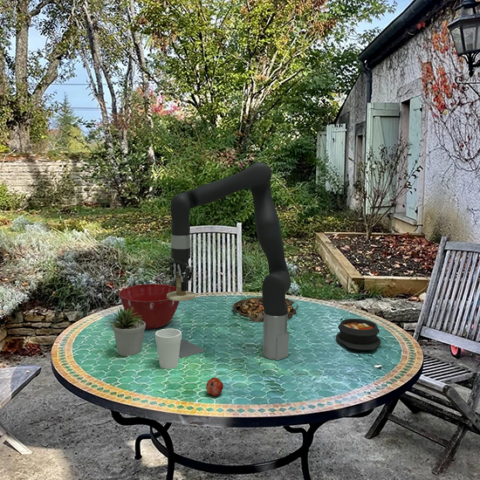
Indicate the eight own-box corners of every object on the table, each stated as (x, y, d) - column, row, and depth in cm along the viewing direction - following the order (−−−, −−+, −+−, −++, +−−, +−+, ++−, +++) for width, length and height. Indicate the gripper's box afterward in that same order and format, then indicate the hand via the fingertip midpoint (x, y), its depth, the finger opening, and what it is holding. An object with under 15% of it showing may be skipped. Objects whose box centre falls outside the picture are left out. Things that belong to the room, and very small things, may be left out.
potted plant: (108, 349, 192) (107, 300, 188) (143, 345, 196) (142, 297, 193) (111, 361, 180) (110, 309, 177) (148, 356, 185) (147, 306, 182)
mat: (206, 352, 190) (206, 350, 190) (181, 360, 182) (181, 358, 182) (183, 340, 202) (183, 339, 202) (158, 347, 194) (158, 345, 194)
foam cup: (182, 361, 181) (182, 328, 179) (180, 372, 172) (180, 337, 170) (157, 361, 180) (157, 328, 178) (153, 372, 171) (153, 337, 169)
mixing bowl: (189, 330, 215) (189, 296, 212) (124, 337, 204) (123, 302, 202) (174, 312, 240) (173, 282, 238) (115, 317, 230) (114, 286, 228)
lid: (200, 297, 186) (200, 277, 185) (177, 302, 179) (176, 281, 178) (184, 291, 195) (184, 272, 193) (161, 296, 188) (161, 276, 186)
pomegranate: (209, 394, 159) (198, 388, 154) (217, 378, 161) (206, 371, 155) (222, 401, 156) (211, 395, 150) (230, 385, 158) (220, 378, 152)
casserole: (386, 355, 190) (387, 335, 189) (338, 353, 192) (339, 333, 190) (374, 333, 215) (376, 315, 213) (332, 331, 216) (333, 313, 215)
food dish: (281, 330, 221) (281, 313, 219) (220, 318, 237) (219, 303, 236) (309, 308, 251) (310, 294, 249) (253, 299, 267) (253, 286, 266)
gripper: (199, 248, 181) (199, 292, 184) (178, 242, 191) (178, 284, 194) (183, 250, 176) (183, 295, 179) (162, 244, 187) (162, 287, 189)
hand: (180, 289), depth 187 cm, fingers closed on lid, 3 cm apart
